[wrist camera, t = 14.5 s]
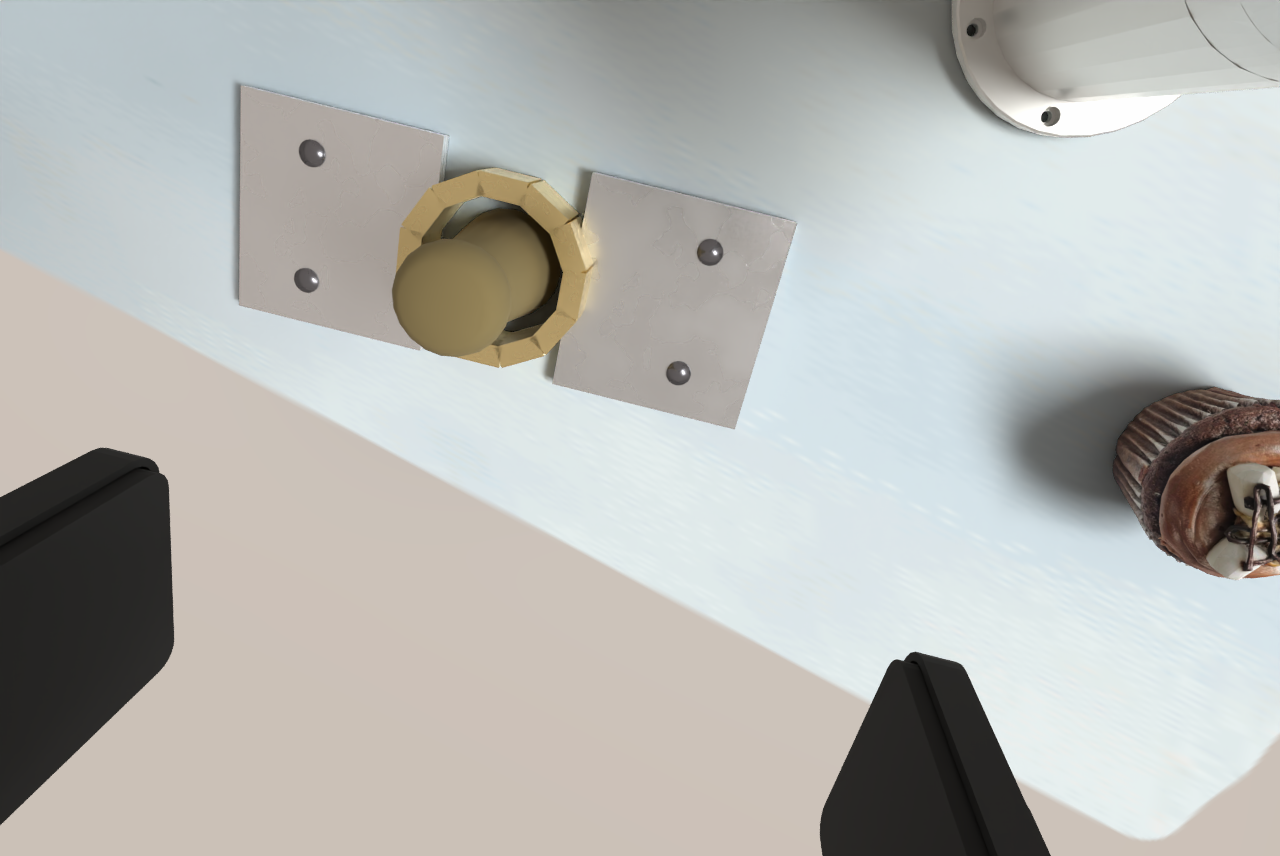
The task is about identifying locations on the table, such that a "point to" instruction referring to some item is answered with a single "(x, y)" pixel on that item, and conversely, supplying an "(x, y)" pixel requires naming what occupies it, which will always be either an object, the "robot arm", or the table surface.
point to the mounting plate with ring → (587, 251)
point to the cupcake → (1207, 480)
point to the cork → (475, 282)
